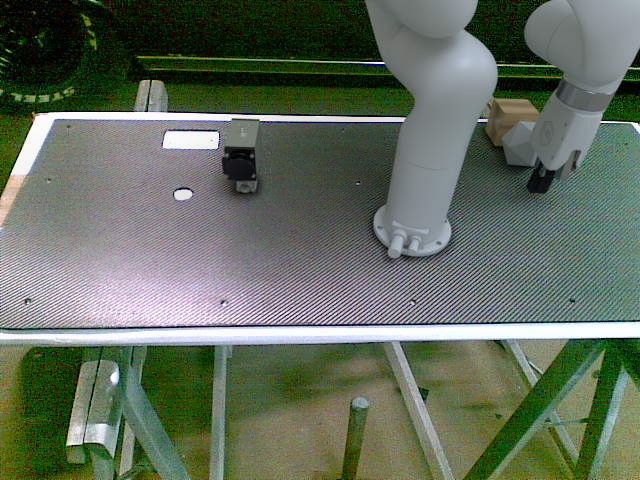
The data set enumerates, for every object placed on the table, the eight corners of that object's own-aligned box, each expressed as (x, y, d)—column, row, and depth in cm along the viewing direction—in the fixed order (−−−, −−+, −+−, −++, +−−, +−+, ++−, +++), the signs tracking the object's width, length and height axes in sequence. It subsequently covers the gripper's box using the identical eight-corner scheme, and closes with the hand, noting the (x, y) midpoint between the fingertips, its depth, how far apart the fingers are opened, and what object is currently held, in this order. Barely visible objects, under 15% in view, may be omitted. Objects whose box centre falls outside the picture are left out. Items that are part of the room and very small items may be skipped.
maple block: (529, 146, 95) (540, 114, 91) (494, 146, 95) (504, 113, 91) (517, 131, 101) (527, 99, 96) (484, 130, 100) (493, 98, 96)
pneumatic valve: (263, 166, 88) (260, 108, 80) (257, 208, 80) (252, 148, 71) (233, 165, 88) (227, 107, 80) (224, 207, 80) (216, 147, 71)
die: (530, 186, 89) (574, 144, 85) (496, 159, 87) (538, 115, 83) (517, 169, 97) (556, 130, 92) (485, 143, 95) (524, 102, 90)
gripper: (541, 69, 75) (502, 164, 88) (580, 118, 65) (529, 218, 78) (587, 72, 76) (541, 166, 89) (632, 121, 65) (573, 220, 78)
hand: (535, 190), depth 83 cm, fingers closed
